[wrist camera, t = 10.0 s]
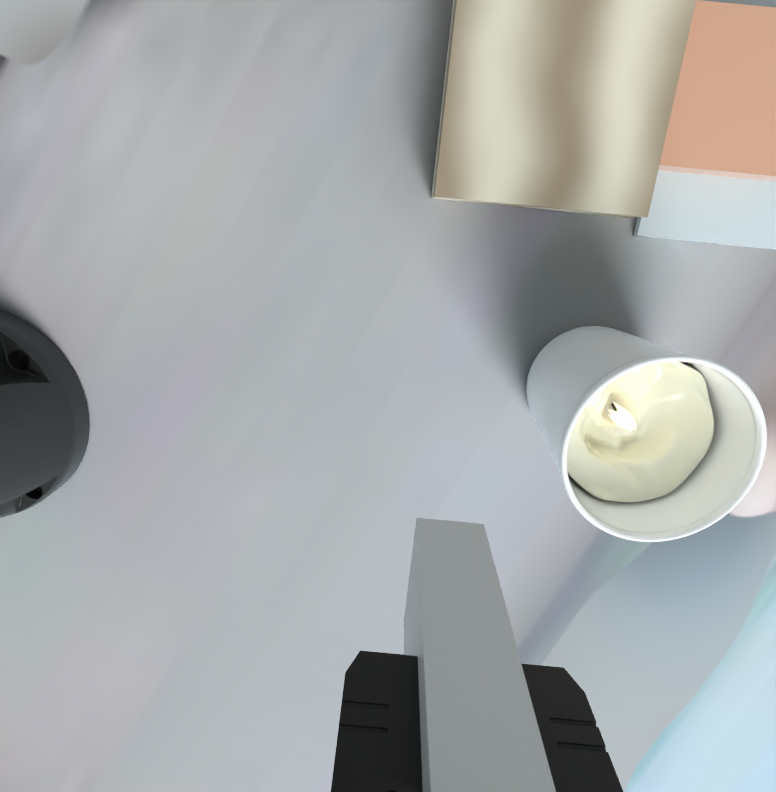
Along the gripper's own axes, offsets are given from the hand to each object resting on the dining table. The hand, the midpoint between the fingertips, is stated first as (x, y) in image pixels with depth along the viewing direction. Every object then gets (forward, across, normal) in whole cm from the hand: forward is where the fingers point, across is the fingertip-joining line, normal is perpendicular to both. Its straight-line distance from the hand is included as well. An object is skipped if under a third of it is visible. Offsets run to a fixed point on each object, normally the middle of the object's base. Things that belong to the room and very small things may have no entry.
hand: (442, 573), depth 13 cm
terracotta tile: (+26, -16, -16) cm, 34 cm away
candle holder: (+27, -12, +2) cm, 29 cm away
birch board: (+26, -6, -16) cm, 31 cm away
